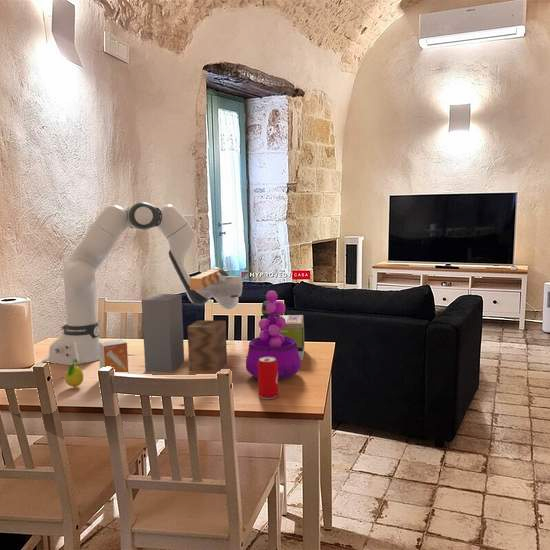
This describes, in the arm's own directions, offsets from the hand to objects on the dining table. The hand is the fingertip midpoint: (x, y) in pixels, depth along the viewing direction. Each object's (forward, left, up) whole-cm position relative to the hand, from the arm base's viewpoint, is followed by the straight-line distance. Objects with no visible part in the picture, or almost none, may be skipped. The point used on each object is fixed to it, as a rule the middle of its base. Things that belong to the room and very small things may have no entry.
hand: (211, 275), depth 201 cm
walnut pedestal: (0, -7, -33) cm, 34 cm away
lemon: (-37, -35, -33) cm, 61 cm away
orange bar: (0, -7, -2) cm, 8 cm away
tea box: (+28, +11, -33) cm, 45 cm away
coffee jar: (+18, +27, -33) cm, 46 cm away
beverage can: (+28, -35, -33) cm, 56 cm away
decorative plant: (+26, -16, -33) cm, 45 cm away
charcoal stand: (-16, -9, -33) cm, 38 cm away
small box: (-28, -25, -33) cm, 50 cm away
